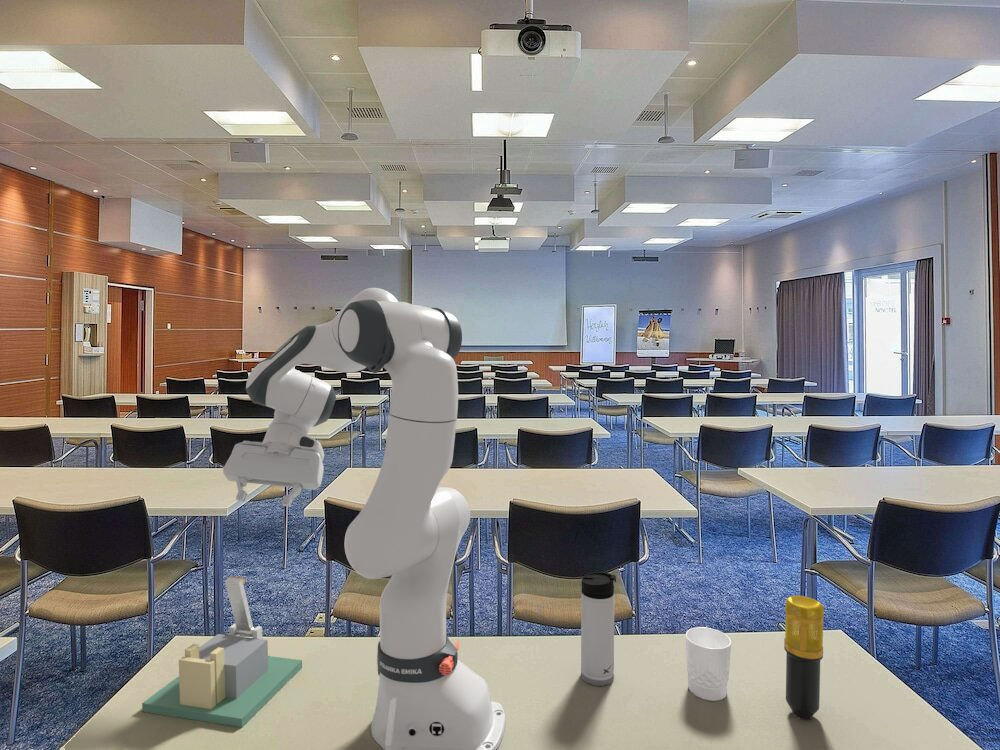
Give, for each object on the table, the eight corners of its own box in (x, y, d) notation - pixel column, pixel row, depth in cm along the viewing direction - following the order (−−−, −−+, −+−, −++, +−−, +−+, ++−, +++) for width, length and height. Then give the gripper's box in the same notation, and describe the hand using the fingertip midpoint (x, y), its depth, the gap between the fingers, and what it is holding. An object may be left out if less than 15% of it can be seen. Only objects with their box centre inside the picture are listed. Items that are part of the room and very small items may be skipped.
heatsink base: (302, 667, 111) (301, 616, 110) (242, 727, 93) (240, 666, 93) (215, 656, 115) (214, 606, 114) (142, 711, 97) (140, 653, 97)
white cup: (736, 689, 103) (737, 636, 103) (720, 709, 97) (721, 654, 97) (695, 672, 108) (696, 622, 108) (677, 690, 103) (678, 638, 102)
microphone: (867, 718, 95) (870, 604, 94) (798, 727, 92) (800, 610, 92) (841, 697, 100) (844, 589, 99) (775, 705, 98) (777, 594, 97)
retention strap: (252, 638, 108) (258, 631, 110) (239, 583, 104) (245, 577, 106) (235, 636, 109) (242, 629, 111) (222, 581, 105) (229, 575, 107)
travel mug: (615, 688, 103) (616, 583, 102) (580, 684, 105) (580, 580, 104) (615, 669, 109) (616, 570, 109) (581, 666, 111) (582, 567, 110)
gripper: (232, 432, 121) (207, 490, 112) (326, 442, 121) (308, 501, 113) (241, 447, 126) (217, 503, 117) (331, 456, 126) (314, 514, 118)
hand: (263, 502), depth 115 cm, fingers open, 8 cm apart
